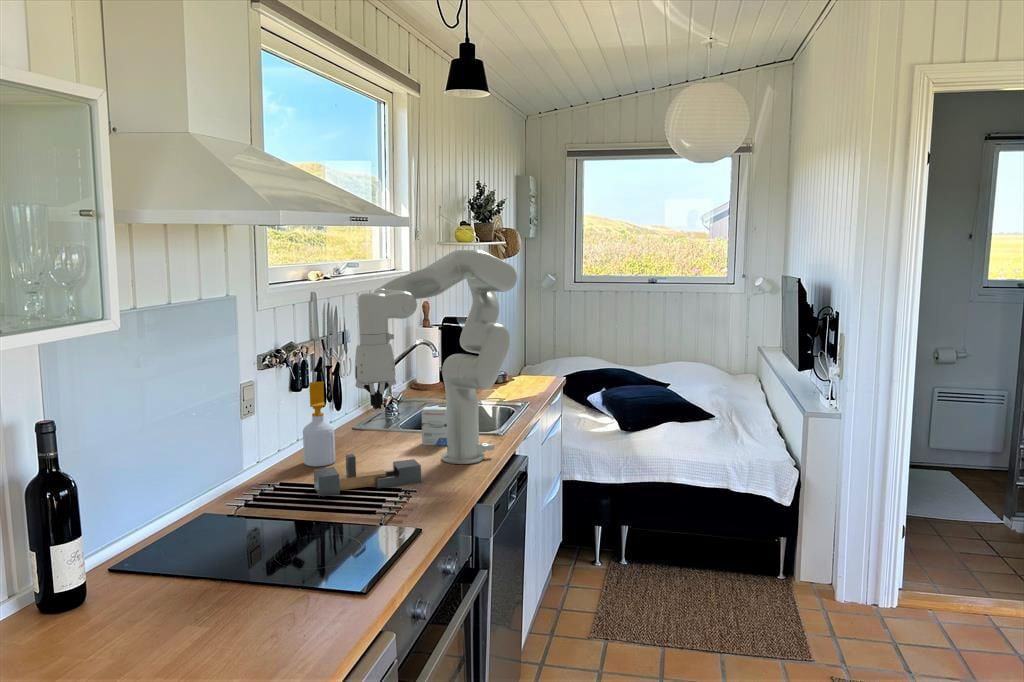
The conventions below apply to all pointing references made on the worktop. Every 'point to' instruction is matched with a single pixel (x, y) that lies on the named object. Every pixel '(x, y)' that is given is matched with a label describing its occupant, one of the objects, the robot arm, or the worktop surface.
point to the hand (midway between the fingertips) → (376, 407)
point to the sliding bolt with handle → (358, 476)
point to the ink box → (434, 426)
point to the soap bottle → (318, 432)
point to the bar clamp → (400, 475)
